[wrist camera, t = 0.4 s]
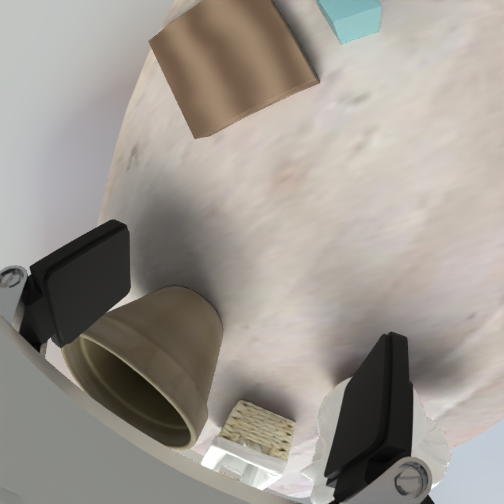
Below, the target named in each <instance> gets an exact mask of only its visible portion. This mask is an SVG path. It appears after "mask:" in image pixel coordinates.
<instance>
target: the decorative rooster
mask: <svg viewBox="0 0 504 504" xmlns="http://www.w3.org/2000/svg"><path fill="white" fill-rule="evenodd" d="M351 378H352V377H350V378H348V379H346V380H344V381H342V382H341V383H339V384H338V385H337V386H336V387H335V388H334V389H333V390H332V391H331V392H330V393H329V394H328V395H327V396H326V397H325V398H324V400H323V401H322V404H321V406H320V410H319V415H318V433H319V439H318V441H317V444H316V450H315V454H314V456H313V461H312V463H311V464H310V465H309V466H307V467H306V468H304V469H303V470H301V473H302V474H303V475H305V476H306V477H307V478H309V479H310V480H312V481H313V486H314V487H313V490H312V493H311V501H312V503H313V504H326V503H327V502H329V501H330V500H332V499H333V498H334V497H333V493H334V490H335V488H332V487H328V486H326V482H327V479H328V478H325V477H324V471H325V468H326V464H327V461H328V457H329V454H330V450H331V446H332V442H333V438H334V434H335V430H336V426H337V422H338V418H339V413H340V409H341V404H342V400H343V395H344V391H345V388H346V386H347V384H348V382H349V381H350V380H351ZM447 442H448V440H447V437H446V433H445V431H444V430H443V429H442V428H440V427H436V423H435V421H434V420H432V419H431V418H429V417H426V413H425V409H424V405H423V403H422V401H421V399H420V397H419V396H418V394H417V392H416V391H415V389H414V388H413V436H412V452H411V457H416V458H419V459H421V460H423V461H424V462H425V463H426V464H427V465H428V467H429V468H430V470H431V474H432V487H431V488H433V487H435V486H436V485H438V484H439V483H440V482H441V480H442V479H443V478H444V473H445V472H446V471H447V465H448V464H449V463H450V461H451V458H452V455H451V452H450V450H451V449H450V446H448V445H447Z"/></svg>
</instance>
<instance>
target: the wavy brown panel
mask: <svg viewBox="0 0 504 504" xmlns="http://www.w3.org/2000/svg"><path fill="white" fill-rule="evenodd" d="M149 44H150V46H151V48H152V50H153V52H154V54H155V56H156V59H157V61H158V63H159V65H160V67H161V69H162V71H163V73H164V75H165V77H166V80H167V82H168V84H169V86H170V88H171V90H172V92H173V94H174V96H175V99H176V101H177V103H178V105H179V107H180V109H181V111H182V113H183V115H184V117H185V120H186V122H187V124H188V126H189V128H190V130H191V132H192V134H193V136H194V138H195V139H197V138H202V137H208V136H211V135H213V134H215V133H217V132H218V131H220V130H222V129H224V128H226V127H228V126H229V125H231V124H233V123H235V122H237V121H239V120H241V119H243V118H245V117H247V116H249V115H251V114H253V113H255V112H257V111H259V110H261V109H263V108H265V107H267V106H269V105H271V104H273V103H275V102H278V101H280V100H282V99H284V98H286V97H289V96H291V95H293V94H295V93H297V92H300V91H302V90H304V89H307V88H309V87H311V86H314V85H316V84H319V83H320V82H319V80H318V78H317V76H316V74H315V72H314V70H313V68H312V66H311V64H310V63H309V61H308V59H307V57H306V55H305V53H304V52H303V50H302V48H301V46H300V45H299V43H298V41H297V39H296V38H295V36H294V34H293V33H292V31H291V29H290V28H289V26H288V24H287V23H286V21H285V19H284V18H283V16H282V15H281V13H280V12H279V10H278V8H277V7H276V5H275V4H274V2H273V1H272V0H204V1H202V2H201V3H199V4H198V5H196V6H195V7H193V8H192V9H190V10H189V11H187V12H186V13H185V14H183V15H182V16H180V17H179V18H178V19H176V20H175V21H174V22H172V23H171V24H170V25H168V26H167V27H166V28H164V29H163V30H162V31H160V32H159V33H158V34H157V35H155V36H154V37H153V38H152V39H151V40H150V41H149Z"/></svg>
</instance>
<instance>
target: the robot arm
mask: <svg viewBox="0 0 504 504" xmlns="http://www.w3.org/2000/svg"><path fill="white" fill-rule="evenodd" d="M30 271H31V275H30V276H28V274H27V270H26V269H25V268H23V267H21V266H16V265H15V266H9V267H6V268H4V269H3V270H1V271H0V504H302V503H299V502H295V501H292V500H288V499H285V498H283V497H280V496H277V495H274V494H271V493H268V492H265V491H262V490H260V489H257V488H255V487H252V486H249V485H247V484H244V483H242V482H239V481H237V480H234V479H232V478H230V477H227V476H225V475H223V474H220V473H218V472H216V471H214V470H211V469H209V468H207V467H205V466H203V465H201V464H199V463H197V462H195V461H193V460H191V459H188V458H187V457H185V456H183V455H181V454H179V453H177V452H175V451H173V450H172V449H170V448H168V447H166V446H164V445H163V444H161V443H159V442H158V441H156V440H154V439H152V438H151V437H149V436H147V435H146V434H144V433H142V432H141V431H139V430H138V429H136V428H134V427H133V426H131V425H130V424H128V423H127V422H125V421H124V420H122V419H121V418H119V417H118V416H116V415H115V414H113V413H112V412H111V411H109V410H108V409H106V408H105V407H104V406H102V405H101V404H99V403H98V402H97V401H95V400H94V399H93V398H91V397H90V396H89V395H88V394H86V393H85V392H84V391H82V390H81V389H80V388H79V387H77V386H76V385H75V384H74V383H73V382H71V381H70V380H69V379H67V377H65V376H64V375H63V374H62V373H61V372H59V371H58V370H57V369H56V368H55V367H54V366H52V364H50V363H49V362H48V361H47V360H46V359H45V354H46V348H47V341H48V339H49V338H50V337H51V339H52V341H53V342H54V343H55V344H56V345H57V346H58V347H60V348H63V347H64V346H65V345H66V344H70V343H72V342H73V341H74V340H75V339H76V338H77V337H79V336H80V335H81V334H82V333H83V332H84V331H85V330H87V329H88V328H89V327H90V326H91V325H92V324H93V323H95V322H96V321H97V320H98V319H99V318H100V317H102V316H103V315H104V314H105V313H106V312H107V311H109V310H110V309H111V308H112V307H113V306H114V305H116V304H117V303H118V302H119V301H120V300H122V299H123V298H124V297H125V296H126V295H127V294H128V293H129V291H130V288H131V280H130V234H129V230H128V228H127V225H125V224H124V223H121V222H119V221H117V220H114V219H112V220H110V221H108V222H106V223H104V224H102V225H100V226H98V227H97V228H95V229H93V230H91V231H89V232H87V233H86V234H84V235H82V236H80V237H78V238H77V239H75V240H73V241H71V242H70V243H68V244H66V245H65V246H63V247H61V248H59V249H58V250H56V251H54V252H53V253H51V254H49V255H48V256H46V257H44V258H43V259H41V260H39V261H38V262H36V263H35V264H33V265H31V266H30ZM412 436H413V384H412V382H410V381H409V361H408V340H407V337H405V336H402V335H400V334H397V333H394V332H390V333H389V334H388V335H386V334H383V335H382V336H381V337H380V339H379V340H378V342H377V343H376V345H375V346H374V348H373V349H372V351H371V352H370V353H369V355H368V356H367V358H366V359H365V361H364V362H363V363H362V365H361V366H360V367H359V369H358V370H357V372H356V373H355V374H354V376H353V377H352V378H351V380H350V381H349V382H348V384H347V386H346V388H345V391H344V395H343V400H342V404H341V409H340V413H339V418H338V422H337V426H336V430H335V434H334V438H333V442H332V446H331V450H330V454H329V457H328V461H327V464H326V468H325V471H324V477H325V478H328V479H327V482H326V486H328V487H332V488H335V490H334V493H333V497H334V498H333V499H332V500H330V501H329V502H327V503H326V504H434V502H433V501H432V500H431V498H430V497H429V495H428V493H429V492H430V490H431V487H432V474H431V470H430V468H429V467H428V465H427V464H426V463H425V462H424V461H423V460H421V459H419V458H416V457H411V452H412Z"/></svg>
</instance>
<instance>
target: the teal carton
mask: <svg viewBox="0 0 504 504" xmlns="http://www.w3.org/2000/svg"><path fill="white" fill-rule="evenodd" d="M316 2H317V4H318V6H319V8H320V10H321V12H322V14H323V15H324V17H325V18H326V20H327V22H328V23H329V25H330V26H331V28H332V30H333V31H334V33H335V35H336V36H337V38H338V40H339V42H340V43H341V44H344V43H347V42H350V41H352V40H355V39H358V38H361V37H364V36H367V35H370V34H373V33H376V32H379V26H380V18H381V10H382V5H381V4H380V2H379V1H378V0H316Z"/></svg>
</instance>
